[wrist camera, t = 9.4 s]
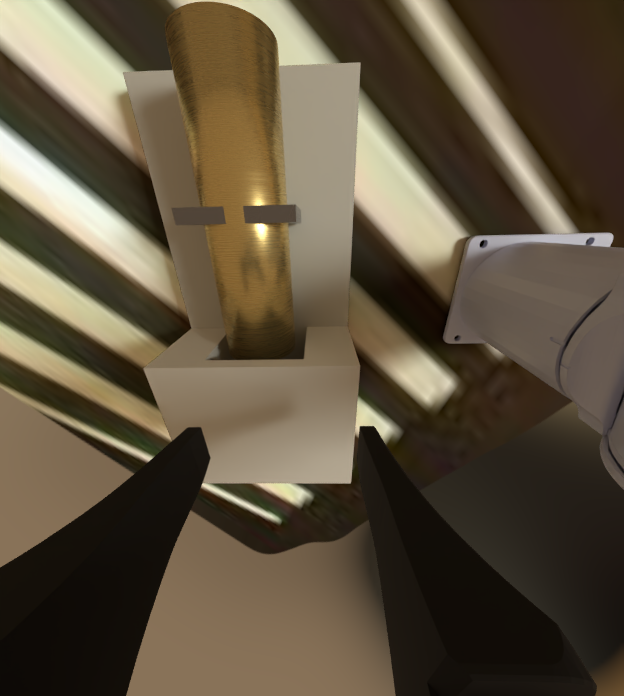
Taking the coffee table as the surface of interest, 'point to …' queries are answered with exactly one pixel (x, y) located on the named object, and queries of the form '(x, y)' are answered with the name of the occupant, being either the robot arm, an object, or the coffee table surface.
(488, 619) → the robot arm
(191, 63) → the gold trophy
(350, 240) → the housing
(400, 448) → the coffee table surface
